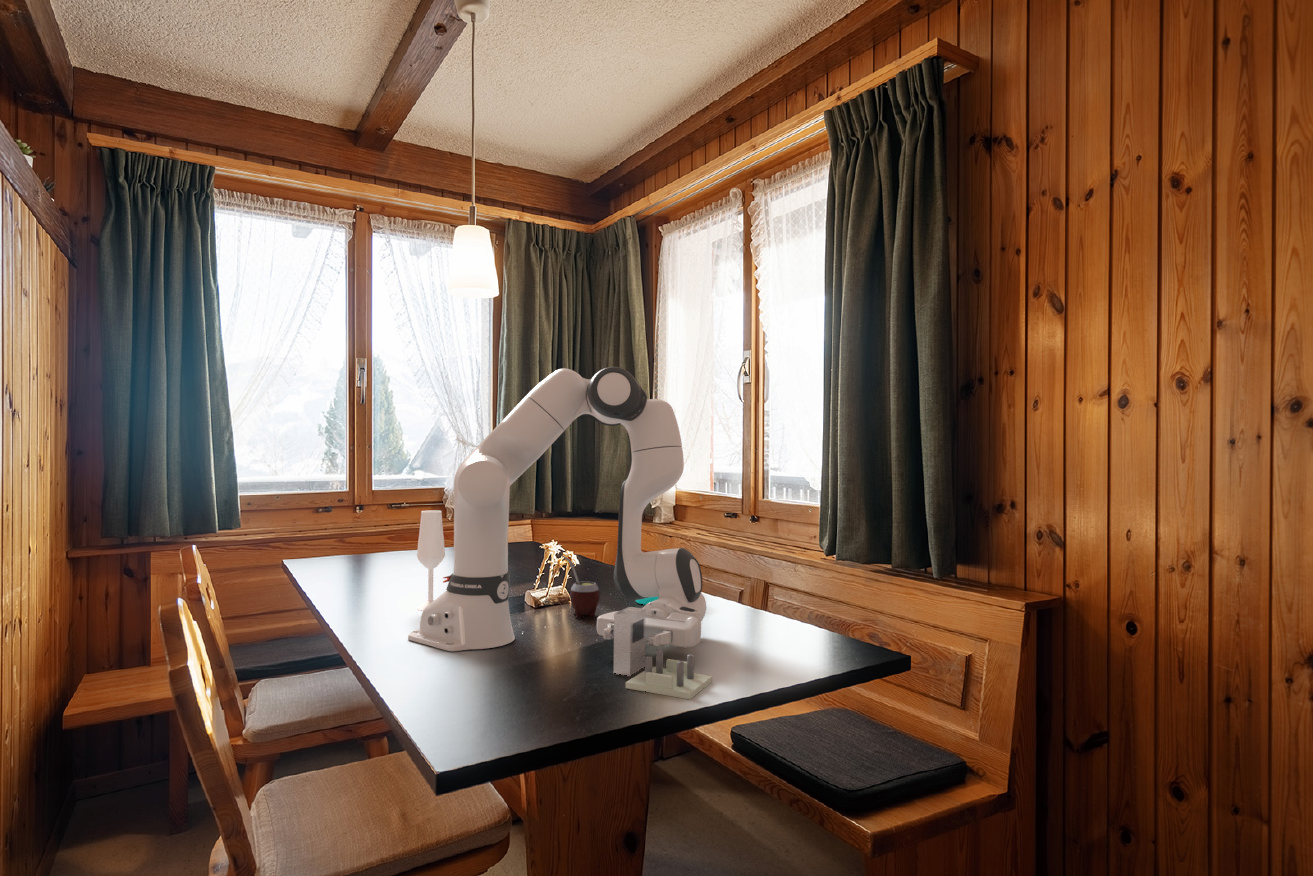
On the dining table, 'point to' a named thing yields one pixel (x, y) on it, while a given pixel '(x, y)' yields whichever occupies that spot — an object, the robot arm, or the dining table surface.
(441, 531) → the champagne flute
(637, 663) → the block
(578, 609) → the mate gourd
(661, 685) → the peg board
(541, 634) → the dining table surface
